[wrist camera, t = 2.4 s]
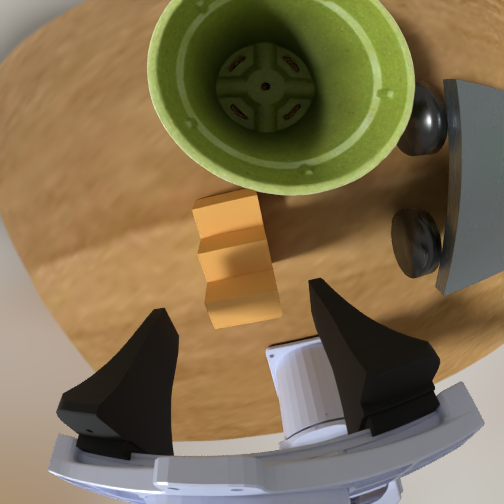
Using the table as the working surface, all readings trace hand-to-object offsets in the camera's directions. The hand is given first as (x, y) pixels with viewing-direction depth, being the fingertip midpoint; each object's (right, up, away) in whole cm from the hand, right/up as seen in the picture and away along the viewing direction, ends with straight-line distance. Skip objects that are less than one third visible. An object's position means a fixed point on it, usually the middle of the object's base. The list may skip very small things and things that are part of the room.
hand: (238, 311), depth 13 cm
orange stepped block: (-1, +4, +6) cm, 8 cm away
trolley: (+18, +10, +4) cm, 21 cm away
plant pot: (+1, +13, +2) cm, 13 cm away
